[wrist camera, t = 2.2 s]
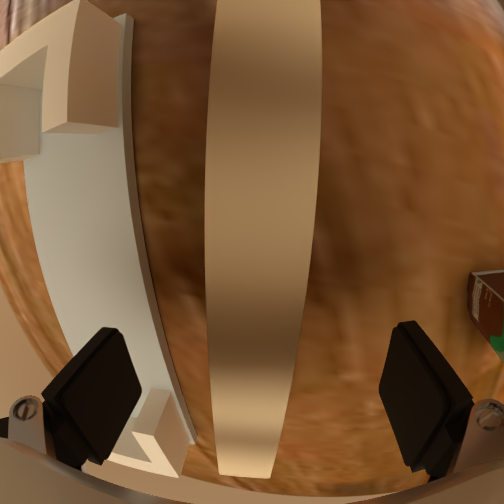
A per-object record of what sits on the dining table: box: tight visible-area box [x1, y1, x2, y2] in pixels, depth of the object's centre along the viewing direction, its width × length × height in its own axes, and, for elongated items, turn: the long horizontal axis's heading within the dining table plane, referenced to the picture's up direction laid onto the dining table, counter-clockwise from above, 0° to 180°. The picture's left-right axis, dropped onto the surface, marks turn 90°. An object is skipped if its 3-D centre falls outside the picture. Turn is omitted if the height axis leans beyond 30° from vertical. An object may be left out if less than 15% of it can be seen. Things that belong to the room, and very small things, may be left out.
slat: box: [205, 0, 322, 478], centre depth 12 cm, size 22×3×6 cm, turn 178°
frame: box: [0, 0, 197, 478], centre depth 13 cm, size 30×8×5 cm, turn 4°
